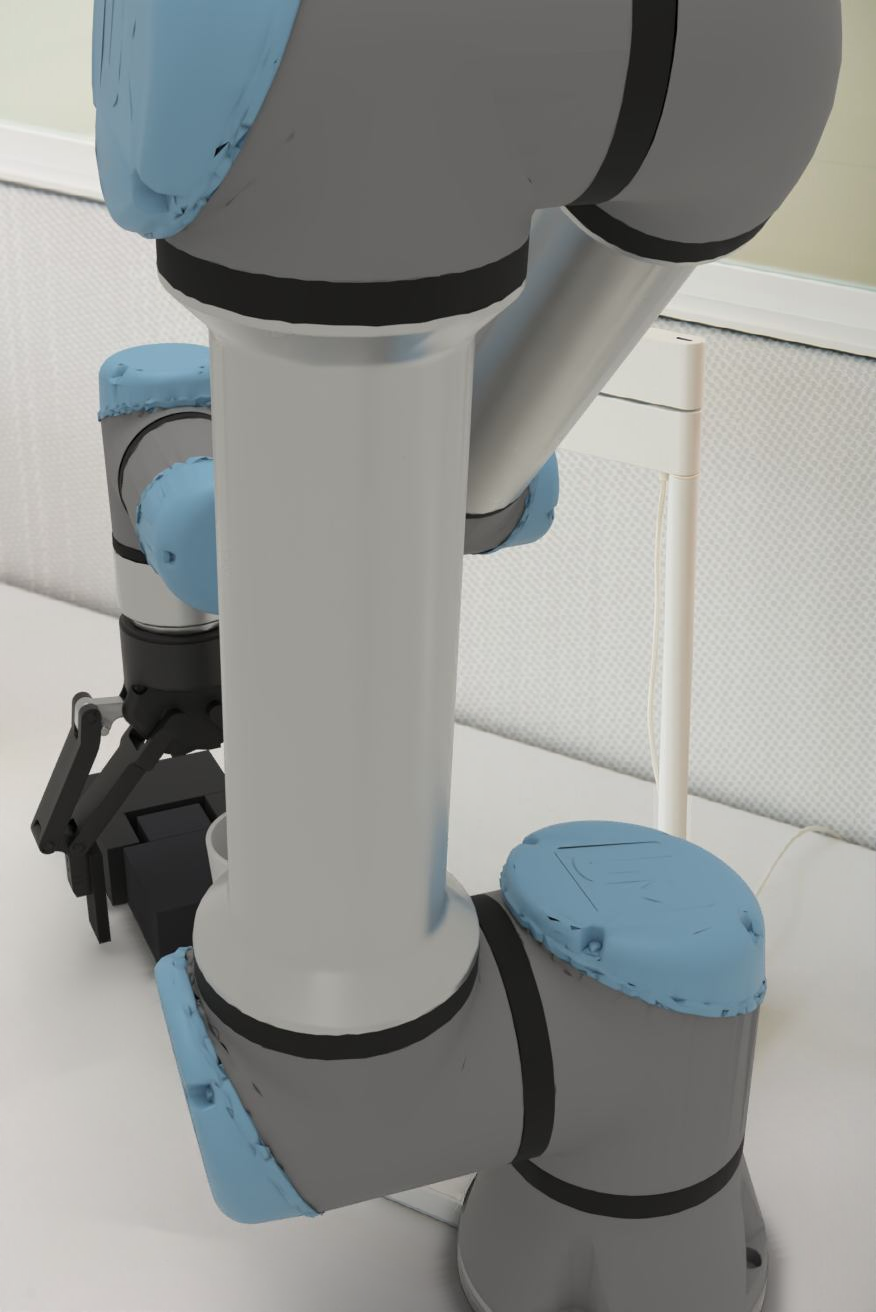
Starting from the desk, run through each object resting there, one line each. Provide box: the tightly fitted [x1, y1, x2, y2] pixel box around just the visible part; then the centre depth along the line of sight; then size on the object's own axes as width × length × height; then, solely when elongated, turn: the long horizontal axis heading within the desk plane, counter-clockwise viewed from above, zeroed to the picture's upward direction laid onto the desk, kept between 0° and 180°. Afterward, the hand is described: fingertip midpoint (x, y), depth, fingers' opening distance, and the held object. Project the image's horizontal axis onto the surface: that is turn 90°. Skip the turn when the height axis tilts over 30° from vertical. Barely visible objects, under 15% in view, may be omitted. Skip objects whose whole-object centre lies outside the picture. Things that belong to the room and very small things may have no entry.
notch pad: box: [75, 750, 226, 907], centre depth 113 cm, size 10×10×4 cm
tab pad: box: [123, 803, 213, 964], centre depth 107 cm, size 11×8×4 cm
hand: (203, 906), depth 106 cm, fingers open, 13 cm apart
